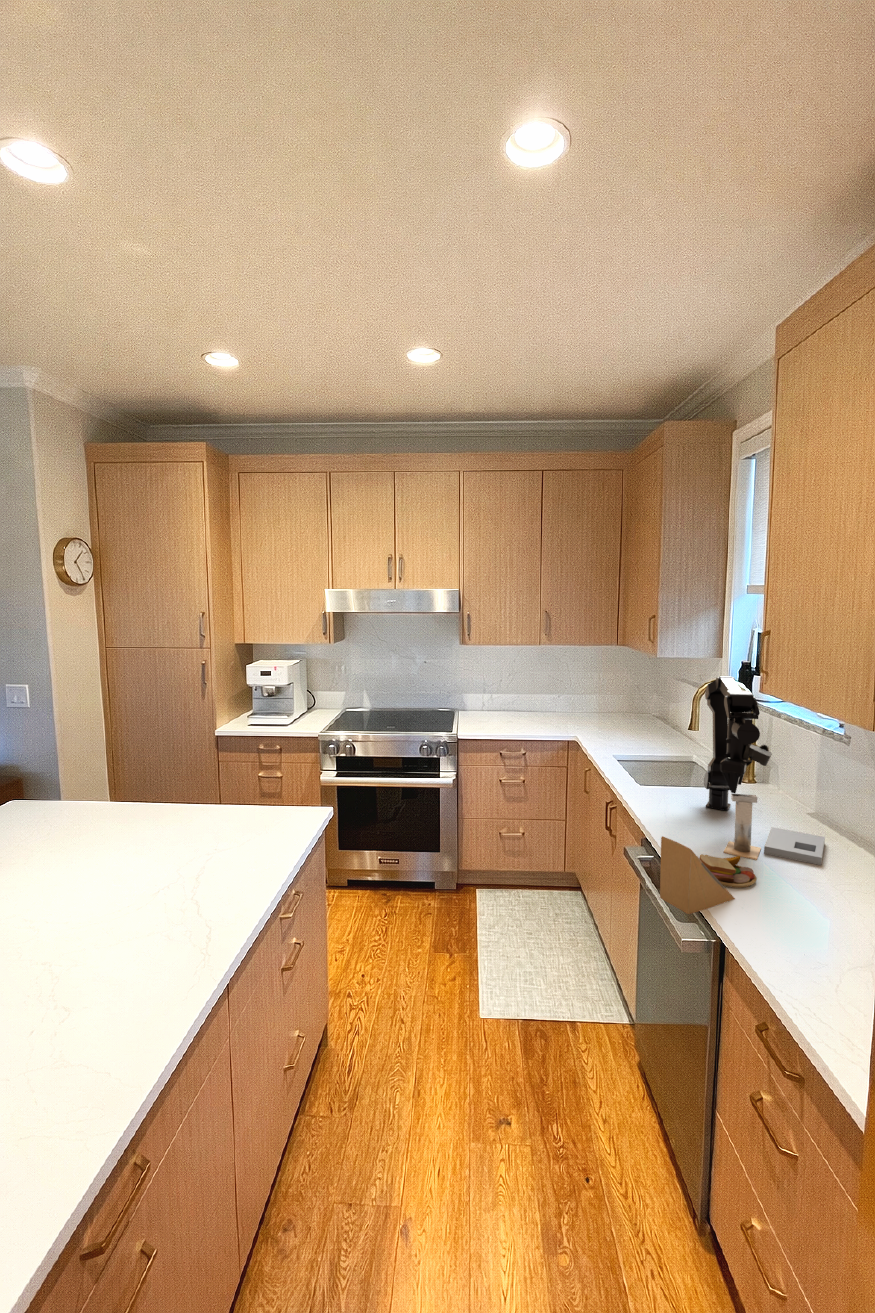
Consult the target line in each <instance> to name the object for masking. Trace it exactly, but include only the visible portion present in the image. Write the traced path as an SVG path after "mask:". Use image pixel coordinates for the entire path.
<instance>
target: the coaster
mask: <svg viewBox="0 0 875 1313" xmlns="http://www.w3.org/2000/svg"><path fill="white" fill-rule="evenodd" d="M761 850H762V847H760V846H759V847H758V846H756V845H755V846H754V845H751V851H750V852H739V851H737V850H735V849H734V841H730V840H729V841H728V842H727V844H726V846H725V848H724V849H723V854H729V855H733V856H735V857H736V856H740V857H742V858H746V859H749V860H750V859H751V860H755V861H756V860H758V857H759V856H760V853H761Z"/></svg>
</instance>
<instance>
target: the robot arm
mask: <svg viewBox="0 0 875 1313" xmlns="http://www.w3.org/2000/svg"><path fill="white" fill-rule="evenodd" d="M704 697H705V700H706V703H707V704H706V705H707V706H708V708H709V709H710V712H711V713H712V758H711V760H710V762H709V763H708V765H707V770H706V771H705V774H704V777H703V786H704V787H705V789H706V790H708V801H707V803H706V804H705V808H709V809H714V810H720V811H726V812H727V811H729V809H730V807H731V803H729V791H730V793H731V794H737V791H738V790H737V789H738V786H741V785H742V783H743V779H744V776H745V774H746V772H747V767H748V766H750V765H751V764H752V763H753V761H754V762H756V763H757V764H760V765H761V766H764V767H767V765H768V764H769V762H770V759H771V757H772V755H773V753H772V751H770V747H769V745H767V744H765V743H763V744H761V745H760V746H758V745H754V744H755V743H756V742H757V741H758V740H759V739H760V736H761V732H760V730H759V727H757V726H756V725H755V724H754V723H753V721H754V720H759V716H760V709H759V703H758V701H757V699H756V696H754V694H753V693H752V692H750V691H749V690H743V689H741V686H739V684H738V683H737V682H736V679H735V677H734V676H729V675H728V676H727V675H725V676H724V675H720V676H717V677H715V680H713V681H711V682H710V683H708V684H707V685H706V688H705V691H704Z"/></svg>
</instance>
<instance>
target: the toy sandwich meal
mask: <svg viewBox="0 0 875 1313" xmlns="http://www.w3.org/2000/svg"><path fill="white" fill-rule="evenodd" d="M698 858H699V859H700V860H701V861H702V863H703V864H704V865H705V866H706V867H707V868H708V869H709V871H710V872H711V873H712V874H713V875H714V876H715V877H716V878H717V879H718V881H719V882H720V883H721V884H722V885H723V886H724V887H725V888H726V887H727V888H734V889H741V888H742V889H743V888H748V887H751V886H752V885H754V884H755V883H756V882H757V876H756V874H755V873H754V870H753V869H752V868H751V867H746V866H741V865H738V864H739V862H740V860H741V856H736V855H735V856H732V857H718V856H712V855H707V854H704V853H703V854H699V856H698Z"/></svg>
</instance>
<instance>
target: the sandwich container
mask: <svg viewBox="0 0 875 1313" xmlns="http://www.w3.org/2000/svg"><path fill="white" fill-rule="evenodd" d="M659 876H660V877H659V878H660V881H659V882H660V884H659V885H660V886H659V891H660V892H659V898H660V899H661V900H663V901H665V902H666V903H668V904H670V905H672V906H673V907H675V908H677V910H680V911H681V912H684V913H686V914H687V915H690V914H694V913H697V912H700V911H701V912H702V911H704V910H707V909H711V908H714V907H716V906H719V905H722V904H725V903H727V901H728V902H730V901H733V900H735V899H736V898H735V897H734V896H733V894H732V893H731V892H730V891H728V889H727V888H726V886H723V885H722V884H721V883H720V882H719V881H718V879H717V878H716V877H715V876H714V875H713V874H712V873H711V872H710V871H709V869H708V868H707V867H706V866H705V865H704V864H703V863H702V861H701V860H700V859H699V856H698V855H697V854H696V853H695V852H694V851H693V850H692V849H691V848H690V847H688V846H686V845H684V844H682V843H681V842H677V841H676V840H673V839H671V838H668V837H666V836H663V835H662V836H661V837H660V873H659ZM724 902H725V903H724Z"/></svg>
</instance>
